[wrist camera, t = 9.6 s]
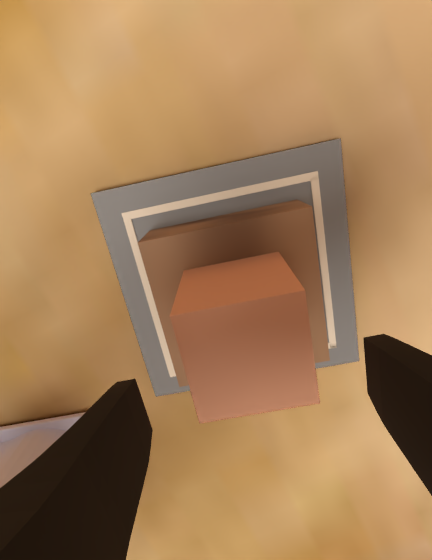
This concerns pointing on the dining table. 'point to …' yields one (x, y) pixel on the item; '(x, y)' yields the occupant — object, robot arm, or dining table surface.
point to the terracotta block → (245, 338)
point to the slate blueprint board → (224, 200)
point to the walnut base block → (233, 246)
